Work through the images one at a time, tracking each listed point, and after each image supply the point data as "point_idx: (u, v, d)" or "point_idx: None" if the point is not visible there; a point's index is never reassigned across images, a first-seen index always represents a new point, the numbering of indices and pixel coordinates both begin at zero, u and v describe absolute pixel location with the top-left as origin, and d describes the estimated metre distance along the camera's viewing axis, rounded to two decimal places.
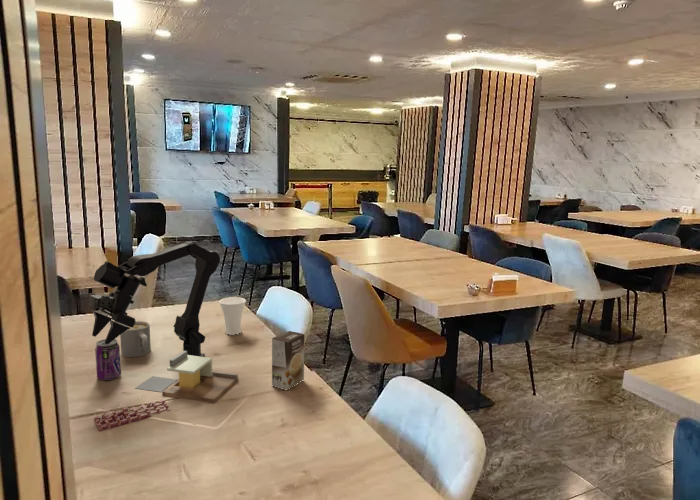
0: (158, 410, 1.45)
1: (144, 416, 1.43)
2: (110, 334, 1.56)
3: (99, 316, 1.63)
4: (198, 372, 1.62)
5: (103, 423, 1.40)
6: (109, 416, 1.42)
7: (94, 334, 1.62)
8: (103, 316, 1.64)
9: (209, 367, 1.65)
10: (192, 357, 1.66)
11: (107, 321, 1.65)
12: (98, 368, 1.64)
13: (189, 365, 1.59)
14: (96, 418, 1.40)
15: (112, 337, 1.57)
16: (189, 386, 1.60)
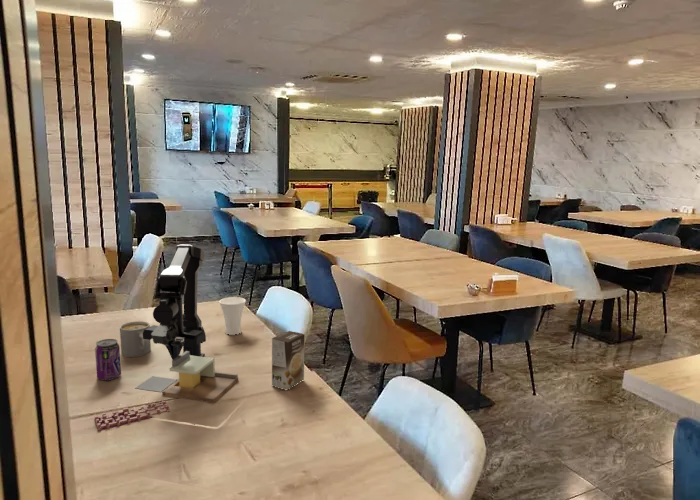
0: (158, 411, 1.45)
1: (144, 417, 1.43)
2: (176, 353, 1.60)
3: (170, 343, 1.60)
4: None
5: (103, 423, 1.40)
6: (109, 416, 1.42)
7: None
8: (172, 340, 1.61)
9: (211, 367, 1.65)
10: (194, 357, 1.65)
11: None
12: (98, 368, 1.64)
13: (191, 365, 1.59)
14: (96, 418, 1.40)
15: (178, 353, 1.62)
16: (189, 386, 1.60)
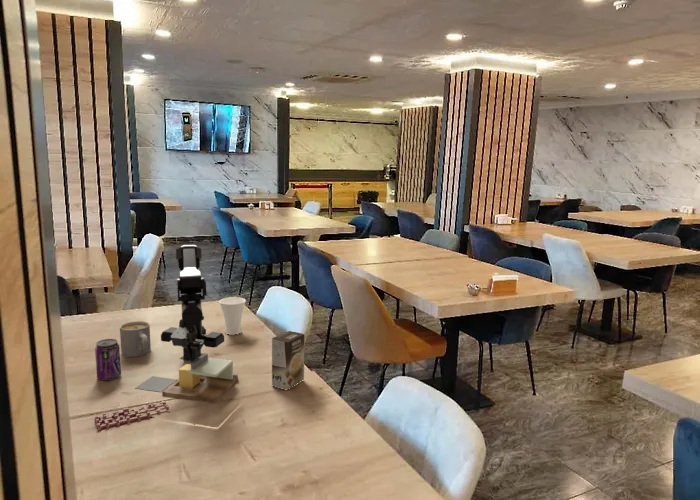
0: (158, 411, 1.45)
1: (144, 417, 1.43)
2: (195, 355, 1.59)
3: (189, 345, 1.58)
4: None
5: (103, 423, 1.40)
6: (109, 416, 1.42)
7: None
8: (190, 342, 1.59)
9: (230, 370, 1.64)
10: (213, 360, 1.64)
11: None
12: (98, 368, 1.64)
13: (210, 368, 1.58)
14: (96, 417, 1.40)
15: (197, 355, 1.60)
16: (189, 386, 1.60)
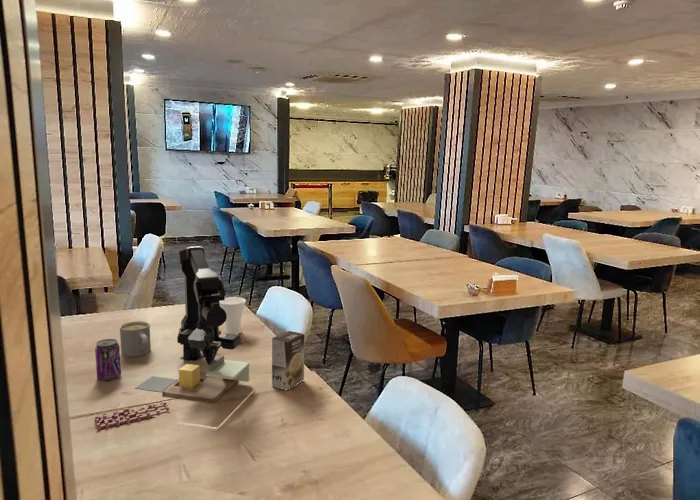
0: (158, 412, 1.44)
1: (143, 417, 1.43)
2: (212, 357, 1.57)
3: (205, 347, 1.57)
4: (198, 372, 1.62)
5: (103, 423, 1.40)
6: (109, 416, 1.42)
7: (209, 363, 1.59)
8: (207, 344, 1.58)
9: (246, 372, 1.62)
10: (229, 362, 1.63)
11: None
12: (98, 368, 1.64)
13: (227, 370, 1.56)
14: (96, 417, 1.41)
15: (213, 358, 1.59)
16: (189, 386, 1.60)
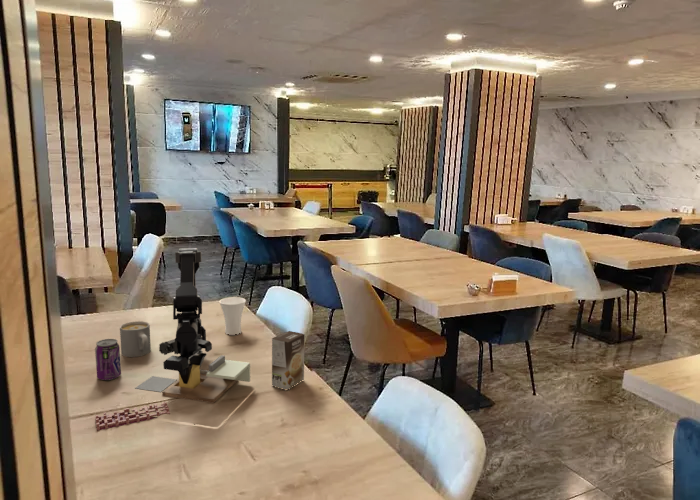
0: (158, 413, 1.44)
1: (143, 418, 1.42)
2: (181, 375, 1.58)
3: (190, 358, 1.64)
4: (198, 372, 1.62)
5: (102, 422, 1.40)
6: (110, 416, 1.42)
7: None
8: (194, 357, 1.63)
9: (247, 372, 1.62)
10: (230, 362, 1.62)
11: (199, 360, 1.63)
12: (98, 368, 1.64)
13: (228, 370, 1.56)
14: (96, 417, 1.41)
15: (184, 377, 1.58)
16: (189, 386, 1.60)
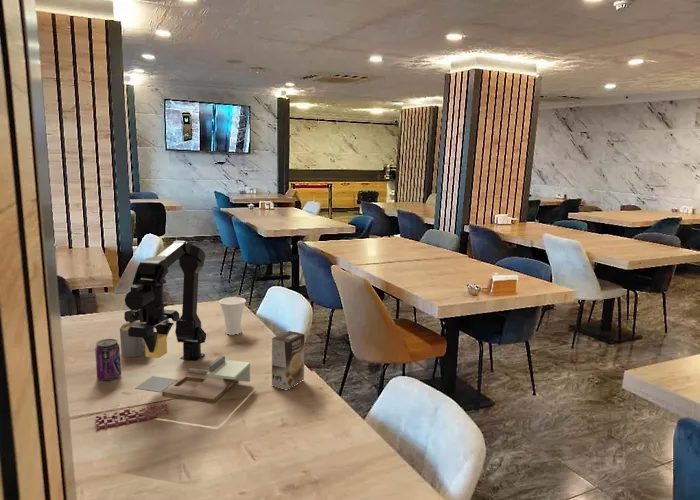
0: (157, 413, 1.44)
1: (143, 418, 1.42)
2: (146, 343, 1.57)
3: (157, 327, 1.62)
4: (165, 341, 1.61)
5: (102, 422, 1.40)
6: (110, 415, 1.42)
7: None
8: (160, 326, 1.62)
9: (247, 372, 1.62)
10: (230, 362, 1.62)
11: (166, 329, 1.62)
12: (98, 368, 1.64)
13: (228, 370, 1.56)
14: (97, 417, 1.41)
15: (150, 346, 1.57)
16: (155, 355, 1.58)
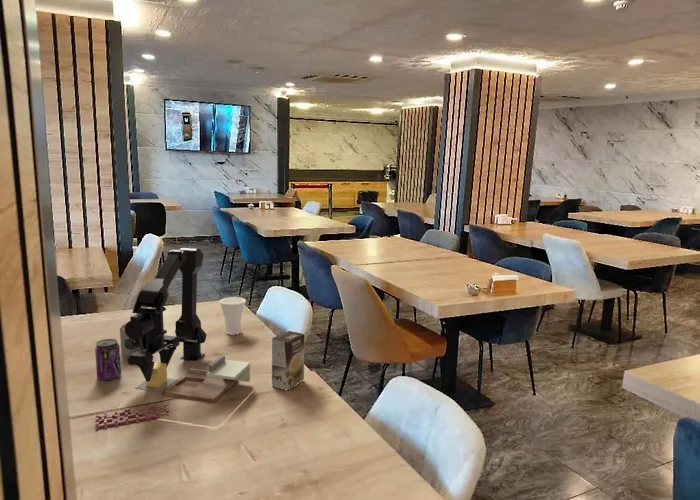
0: (157, 414, 1.43)
1: (142, 419, 1.42)
2: (143, 373, 1.57)
3: (160, 351, 1.66)
4: (165, 370, 1.63)
5: (102, 422, 1.40)
6: (110, 415, 1.42)
7: None
8: (163, 350, 1.65)
9: (247, 372, 1.62)
10: (230, 362, 1.62)
11: (169, 354, 1.65)
12: (98, 368, 1.64)
13: (228, 370, 1.56)
14: (97, 416, 1.41)
15: (147, 375, 1.57)
16: (155, 384, 1.60)
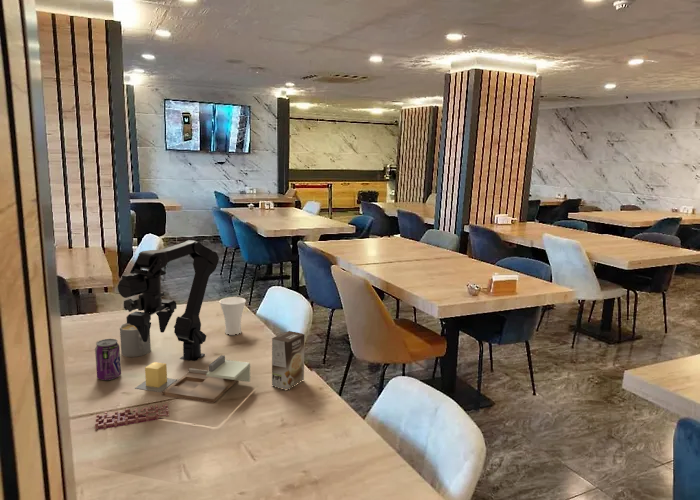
0: (157, 415, 1.43)
1: (142, 419, 1.41)
2: (140, 333, 1.62)
3: (159, 314, 1.72)
4: (165, 370, 1.63)
5: (102, 422, 1.40)
6: (110, 415, 1.42)
7: (161, 330, 1.72)
8: (162, 313, 1.72)
9: (247, 372, 1.62)
10: (230, 362, 1.62)
11: (167, 316, 1.71)
12: (98, 368, 1.64)
13: (228, 370, 1.56)
14: (97, 416, 1.41)
15: (144, 335, 1.62)
16: (155, 384, 1.60)
